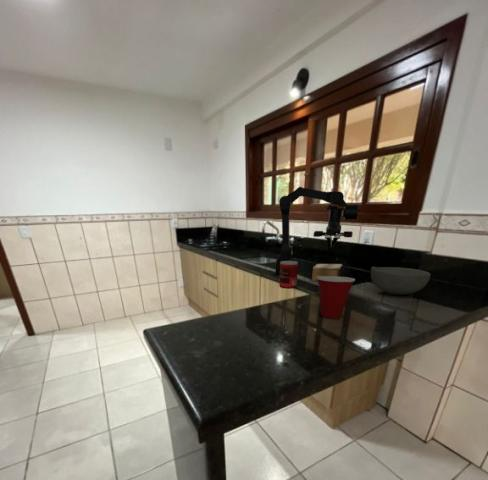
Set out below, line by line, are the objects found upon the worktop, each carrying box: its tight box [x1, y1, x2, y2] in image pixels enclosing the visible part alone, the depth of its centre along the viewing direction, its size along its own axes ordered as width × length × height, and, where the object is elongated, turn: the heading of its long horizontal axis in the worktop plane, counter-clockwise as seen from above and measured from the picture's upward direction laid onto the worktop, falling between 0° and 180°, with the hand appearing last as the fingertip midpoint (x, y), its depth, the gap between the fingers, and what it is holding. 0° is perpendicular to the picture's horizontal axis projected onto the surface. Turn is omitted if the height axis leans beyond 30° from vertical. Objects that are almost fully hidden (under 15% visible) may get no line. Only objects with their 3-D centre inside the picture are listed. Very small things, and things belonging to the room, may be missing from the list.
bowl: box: [370, 266, 432, 296], centre depth 104 cm, size 20×20×10 cm
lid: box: [312, 263, 343, 270], centre depth 132 cm, size 12×13×1 cm
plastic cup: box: [317, 276, 356, 319], centre depth 79 cm, size 11×11×12 cm
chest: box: [311, 268, 341, 282], centre depth 133 cm, size 12×13×6 cm
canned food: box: [278, 260, 299, 290], centre depth 116 cm, size 8×8×11 cm
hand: (330, 251), depth 138 cm, fingers closed
